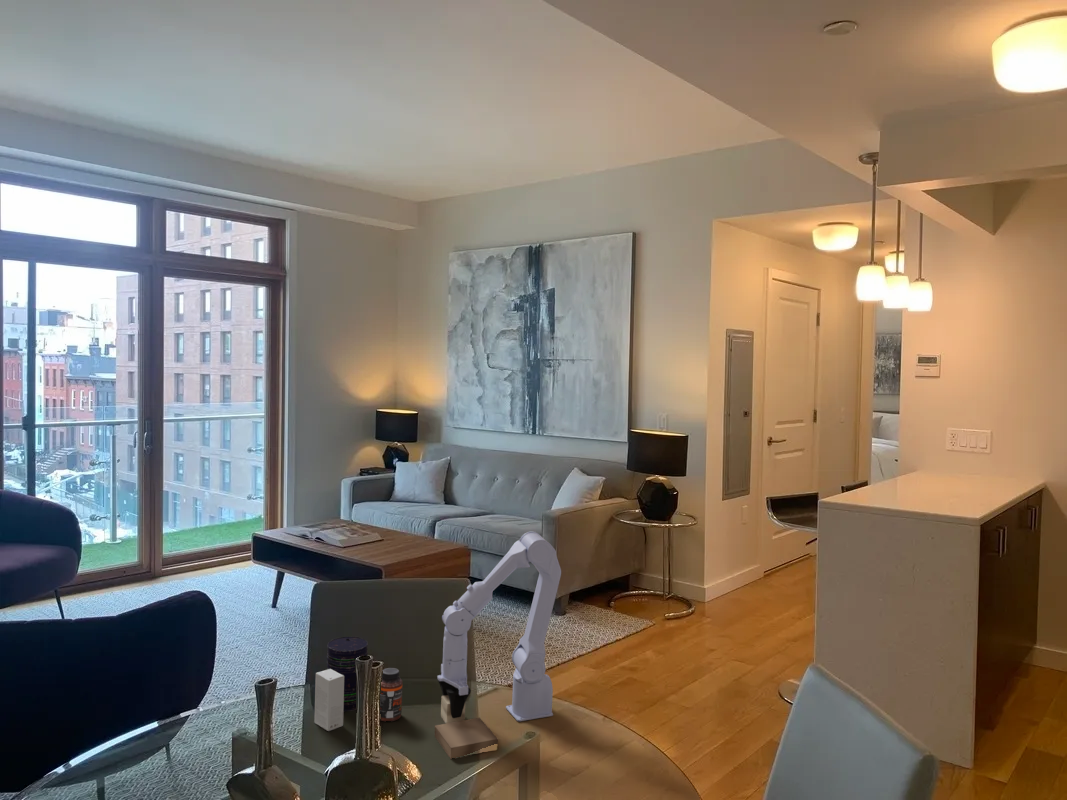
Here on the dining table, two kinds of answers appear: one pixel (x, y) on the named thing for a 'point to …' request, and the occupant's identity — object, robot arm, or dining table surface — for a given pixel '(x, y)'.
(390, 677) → the supplement bottle
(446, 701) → the maple block
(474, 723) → the walnut block
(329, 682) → the skincare box
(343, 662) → the storage jar
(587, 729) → the dining table surface
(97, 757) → the dining table surface
